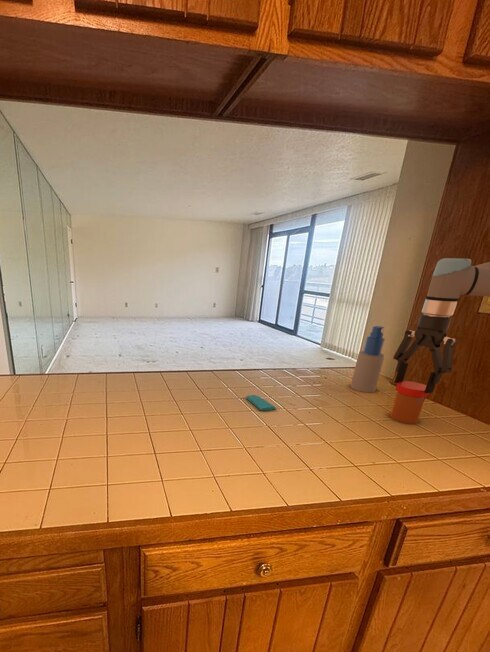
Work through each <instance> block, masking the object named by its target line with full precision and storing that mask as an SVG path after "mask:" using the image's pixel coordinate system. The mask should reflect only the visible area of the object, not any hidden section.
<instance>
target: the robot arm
mask: <svg viewBox="0 0 490 652" xmlns="http://www.w3.org/2000/svg"><path fill="white" fill-rule="evenodd" d="M461 296H475V297H490V261H487V262H484V263H481V264H476V265H472V259H470V258H458V257H457V258H452V257H451V258H450V257H449V258H448V257H446V258H445V257H444V258H440V259H439V260H438V261H437V263H436V265H435V268H434V271H433V273H432V275H431V280H430V283H429V287H428V291H427V294H426V297H425V298H424V299H425V300H424V303H423V306H422V309H421V313H422V314H421V315H420V316H419V318H418V322H417V328H416V330H414V329H407V330H405V331H404V334H403V338H402V340H401V341H400V344H399V346H398V347H397V349H396V351H395V353H394V355H393V360H396V361H397V366H396V370H395V372H396V373H397V374H396V376H395V379H394V383H395V384H397V383H398V382H400V381H404V380H405V376H406V372H407V369H408V366H409V363H408V360H409V359H411V357H412V356H413V355H414V354H415V353H416V352H417V351H419V349H420V348H421V347H425V348H428V349H429V351H430V354H431V359H432V365H433V371H430V374H429V377H428V380H427V383H426V385H427V386H426V389H425V392H424V393H429V394H433V393H434V390H435V387H436V385H437V384H439V383H440V382H441V378H442V375H443V374H448V373H451V372H452V370H453V359H454V352H455V351H454V350H455V349H454V348H455V346H456V344H457V342H458V339H457V338H455V337H454V338H451V337H449V336H447V333H448V330H449V328H450V325H451V322H452V317H451V316H453V315H454V313H455V310H456V308H457V304H458V302H459V298H460V297H461ZM414 337H415V340H414V341H413V338H414ZM412 341H413V342H412ZM411 342H412V343H411ZM442 343H443V345H444V346H443V353H442ZM410 344H411V345H410Z"/></svg>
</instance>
